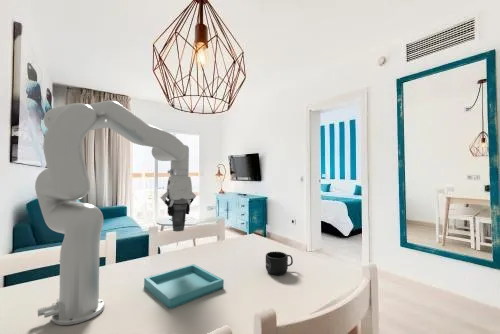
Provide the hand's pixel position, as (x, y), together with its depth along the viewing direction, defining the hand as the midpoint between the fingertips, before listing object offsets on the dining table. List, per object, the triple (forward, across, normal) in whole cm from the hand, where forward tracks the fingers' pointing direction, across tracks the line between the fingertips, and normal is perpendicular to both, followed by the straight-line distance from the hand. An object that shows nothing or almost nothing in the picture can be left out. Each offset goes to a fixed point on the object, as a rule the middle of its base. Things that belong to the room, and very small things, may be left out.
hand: (178, 214), depth 109 cm
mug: (+22, +28, -33) cm, 49 cm away
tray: (+22, -8, -19) cm, 30 cm away
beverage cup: (+7, 0, 0) cm, 7 cm away
